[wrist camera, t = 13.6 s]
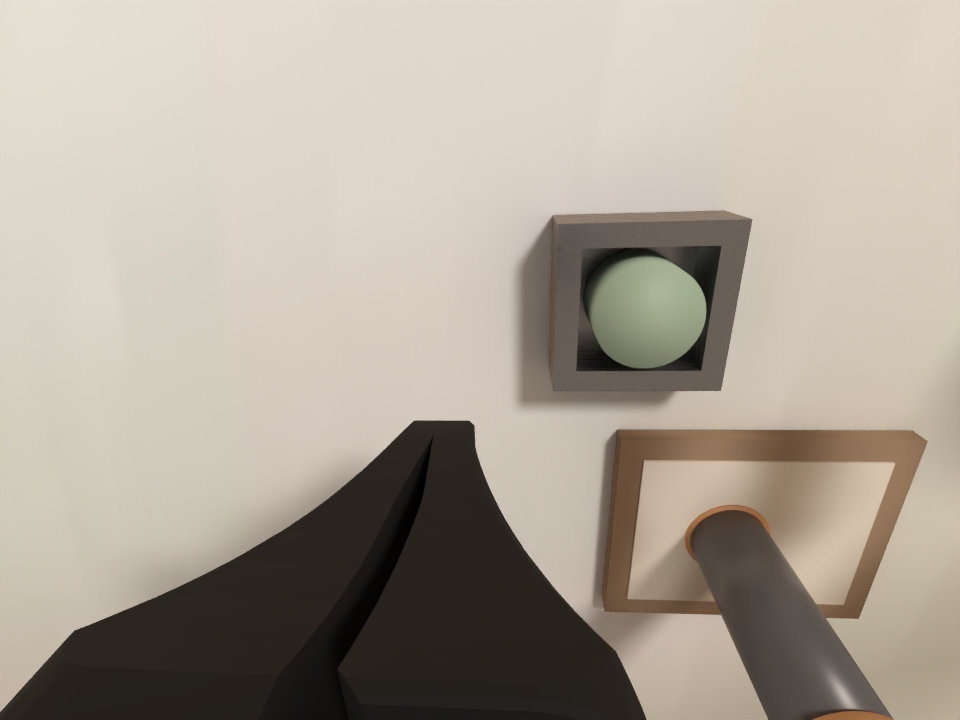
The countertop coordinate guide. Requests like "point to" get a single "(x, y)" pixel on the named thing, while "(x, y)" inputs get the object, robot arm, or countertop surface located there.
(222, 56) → the countertop surface
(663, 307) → the button
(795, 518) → the board
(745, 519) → the marker
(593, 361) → the button housing
